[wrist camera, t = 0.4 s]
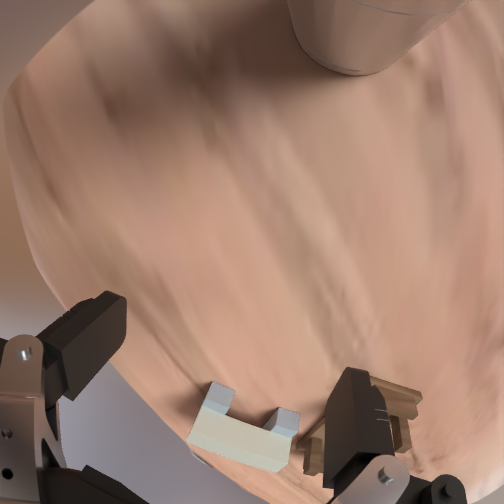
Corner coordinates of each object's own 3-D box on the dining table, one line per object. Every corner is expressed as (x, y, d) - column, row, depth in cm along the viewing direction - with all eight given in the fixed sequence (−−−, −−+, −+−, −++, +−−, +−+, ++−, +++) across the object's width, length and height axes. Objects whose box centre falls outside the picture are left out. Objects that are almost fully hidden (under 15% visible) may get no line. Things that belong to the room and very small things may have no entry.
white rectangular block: (202, 405, 33) (191, 430, 30) (291, 438, 33) (287, 463, 29) (195, 418, 35) (185, 441, 31) (280, 449, 34) (275, 473, 31)
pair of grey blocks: (212, 381, 35) (205, 398, 33) (300, 414, 35) (298, 432, 32) (199, 408, 38) (192, 424, 36) (278, 437, 38) (274, 454, 35)
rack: (363, 373, 31) (368, 419, 25) (420, 391, 30) (430, 433, 24) (296, 443, 38) (291, 480, 32) (347, 456, 38) (346, 491, 32)
